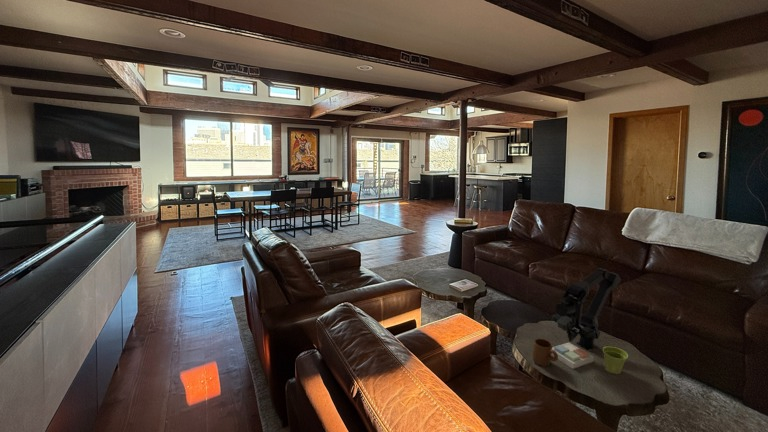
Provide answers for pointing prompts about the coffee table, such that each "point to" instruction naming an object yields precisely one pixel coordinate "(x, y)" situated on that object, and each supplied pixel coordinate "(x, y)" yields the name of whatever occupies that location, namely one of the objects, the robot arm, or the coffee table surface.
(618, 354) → the plant pot
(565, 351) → the key slate
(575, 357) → the key sage
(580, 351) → the key coral
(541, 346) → the mug
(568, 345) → the key cream
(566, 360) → the keypad
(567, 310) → the robot arm
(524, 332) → the coffee table surface
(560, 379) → the coffee table surface
